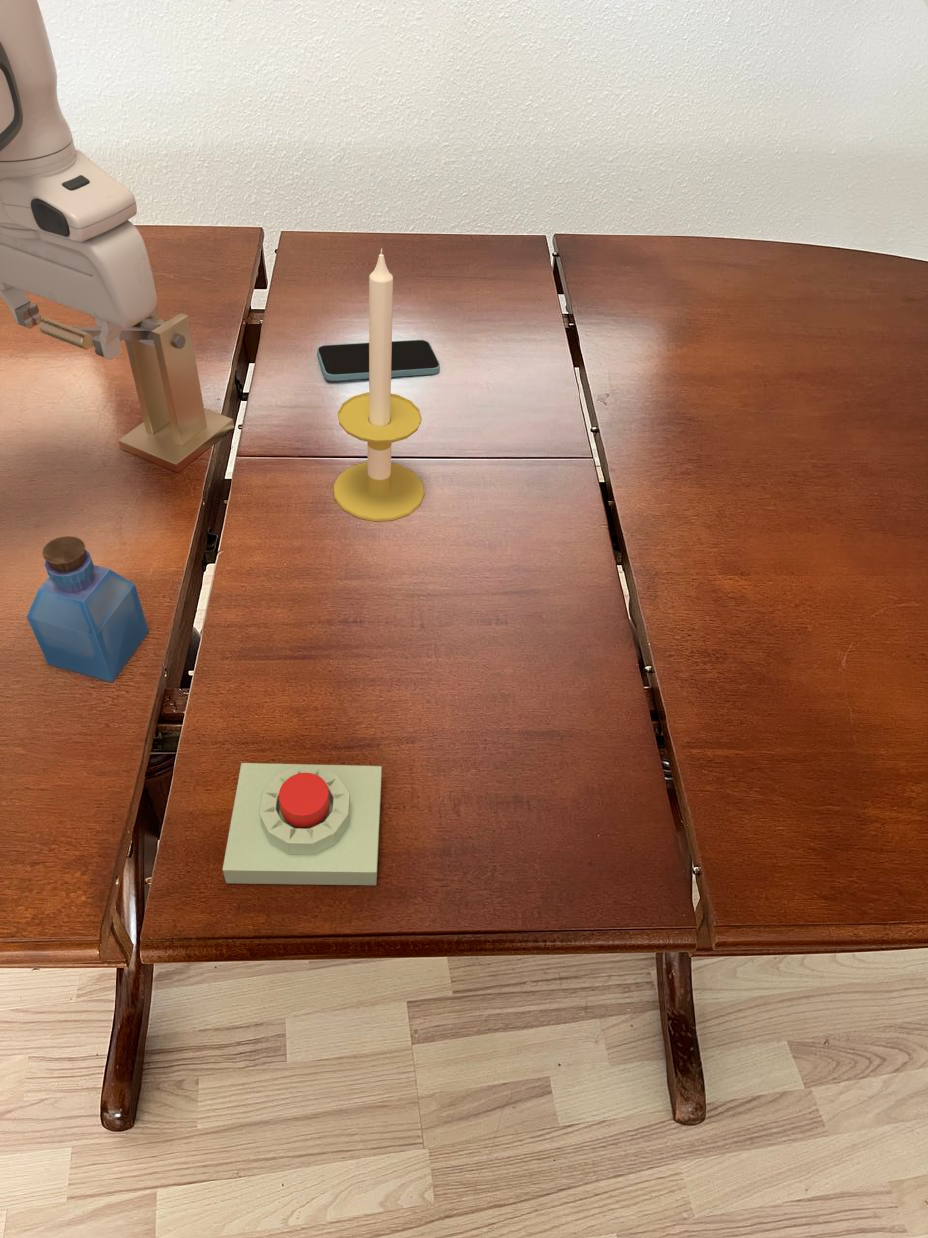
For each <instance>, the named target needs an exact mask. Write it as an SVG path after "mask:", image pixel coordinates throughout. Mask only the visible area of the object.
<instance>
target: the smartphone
mask: <svg viewBox="0 0 928 1238" xmlns="http://www.w3.org/2000/svg"><path fill="white" fill-rule="evenodd" d="M316 355H317V358H318V362H319V365H320V368H321V371H322V373H323V377H324V378H325V379H326V380H327V381H333V382H334V381H336V382H337V381H350V380H352V381H353V380H363V379H369V342H355V343H354V342H353V343H336V344H323V345H319V346H317V349H316ZM440 366H441V364H440V361H439V359H438V357H437V354H436V353H435V351H434V349H433V347H432V345H431V343H430V342H429V341H428V340H425V339H407V340H392V356H391V378H394V377H395V378H396V377H409V376H410V377H411V376H424V375H426V376H427V375H435V374H438V373H439V372H440V368H441V367H440Z"/></svg>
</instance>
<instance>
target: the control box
mask: <svg viewBox="0 0 928 1238" xmlns="http://www.w3.org/2000/svg"><path fill="white" fill-rule="evenodd" d="M239 768H240V769H239V773H238V780H237V785H236V791H235V797H234V801H233V807H232V812H231V813H232V814H231V819H230V824H229V830H228V835H227V842H226V847H225V852H224V858H223V864H222V874H223V876H224V880H225V881H224V882H225V884H233V885H234V884H243V885H247V884H250V885H310V886H311V885H314V886H315V885H317V886H320V885H322V886H323V885H324V886H377V884H378V883H377V882H378V867H379V865H378V864H379V845H380V824H381V823H380V822H381V803H382V802H381V801H382V781H383V779H382V777H383V776H382V775H383V766H382V765H349V764H312V763H311V764H307V763H305V764H304V763H303V764H302V763H264V762H263V763H261V762H260V763H259V762H257V763H255V762H241V763H240V767H239ZM299 773H312V774H315V775H318V776H319V777H321V778H322V779H323V780H324V781H325V782H326V784H327V786H328V789H329V801H330V806H329V810H328V813H327V815H326V816H325V817H324V818H323V819H322V820H321V821H320V822H319V823H317V824H315V825H313V826H309V827H297V826H294V825H292V824H290V823H288V822H287V821H286V820H285V819H284V817H283V816H282V813H281V809H280V803H279V791H280V788H281V786H282V785H283V783H284V782H285V781H286V780H287V779H288V778H290V777H291V776H293V775H296V774H299Z"/></svg>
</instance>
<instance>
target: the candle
mask: <svg viewBox="0 0 928 1238" xmlns="http://www.w3.org/2000/svg"><path fill="white" fill-rule="evenodd" d="M385 259H386V258H385V255H384V254H383V248H382V247H381V248H380V254H378V258H377V262H376V265H375V268H374V270H373V271H372V272H371V273H370V274H369V275H368V276H369V277H368V343H369V378H368V391H367V392H363V393H360V394H357V395H353V396H351V397H350V398H348V399H347V400H345V401H344V402H342V404H341V405H340V407H339V408H338V411H337V418H338V425H339V426H340V427H341V428H342V429H343V430H344V432H345V433H346V434H347V435H349V436H350V437H353V438H355V439H357V440H359V441H363V442H367V444H366V445H367V449H366V450H367V461H364V462H361V463H358V464H354V465H352V466H349V467H348V468H346V469H345V470H343V471H342V472H341V473H339V474H338V476H337V478H336V479H335V482H334V484H333V487H332V488H333V496H334V500H335V502H336V503H337V504H338V506H339V507H340V508H341V509H342V511H344V512H346V513H348V514H350V515H351V516H354V517H355V518H357V519H361V520H365V521H366V520H367V521H372V522H387V521H388V522H389V521H395V520H399V519H402V518H404V517H407V516H409V515H411V514H412V513H413V512H414V511H416V510H417V509H418V508H419V507H420V506H421V505H422V502H423V500H424V498H425V495H426V494H425V488H424V485H423V481H422V480H421V479H420V478H419V476H418V475H417V474H416V473H415V472H414V471H413V470H411V469H409V468H408V467H406V466H403V465H401V464H399V463H395V462H392V444H393V443H397V442H400V441H402V440H406V439H408V438H409V437H411V436H412V435H414V434H415V433H417V431H419V428H420V425H421V423H422V420H423V419H422V415H421V411H420V408H419V407H418V406H417V405H416V404H415V403H414V402H413V401H412V400H411V399H409V398H405V397H404V396H402V395H399V394H396V393H392V377H391V356H392V341H393V305H394V303H393V301H394V299H393V298H394V297H393V296H394V275H393V274H392V273H391V272H390V271H389V269H388V267H387V263H386V260H385Z"/></svg>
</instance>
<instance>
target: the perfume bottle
mask: <svg viewBox="0 0 928 1238" xmlns="http://www.w3.org/2000/svg"><path fill="white" fill-rule="evenodd" d="M41 555H42V557H43V559H44V560H45V561H44V567H45V569H46V572H47V575H48V578H47V579H46V580H45V581H44V583H42V584H41V586H40V587H39V588H38V590H37V592H36V594H35V597H34V598H33V601H32V604H31V606H30V608H29V611H28V613H27V614H26V618H27V621H28V623H29V625H30V628H31V630H32V632H33V635H34V636H35V639H36V641H37V643H38V646H39V648H40V650H41V652H42V655H43V657H44V659H45V662H46V664H47V665H48V666H52V667H55V668H59V669H62V670H67V671H70V672H74V673H76V674H79V675H84V676H87V677H90V678H95V679H98V680H102V681H105V682H109V683H114V682H115V680H116V679H117V677H118V676H119V674H120V673H121V672H122V670H123V669H124V668H125V666H126V664H127V663H128V662H129V660H130V659H131V658H132V656H133V655H134V654H135V652H136V651H137V649H138V648H139V646H141V643H142V642H143V641H144V639H145V638H146V637H147V635H148V634H149V632H150V631H149V628H148V623H147V620H146V618H145V613H144V611H143V606H142V603H141V599H140V596H139V593H138V590H137V586H136V584H135V583H134V582H132V581H130V580H129V579H127V578H125V577H124V576H122V575H120V574H119V573H117V572H115V571H114V570H112V569H110V568H108V567H103V566H100V565H96V564H94V563H93V559H92V557H91V554H90V552H89V551H88V550H87V549H86V545H85V541H83V540H82V539H81V538H79V537H76V536H72V535H66V536H60V537H59V536H58V537H56V538H53V539H52V540H50V541H48V542H47V543H46V544H45V545H44V547H43V548H42V554H41Z"/></svg>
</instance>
